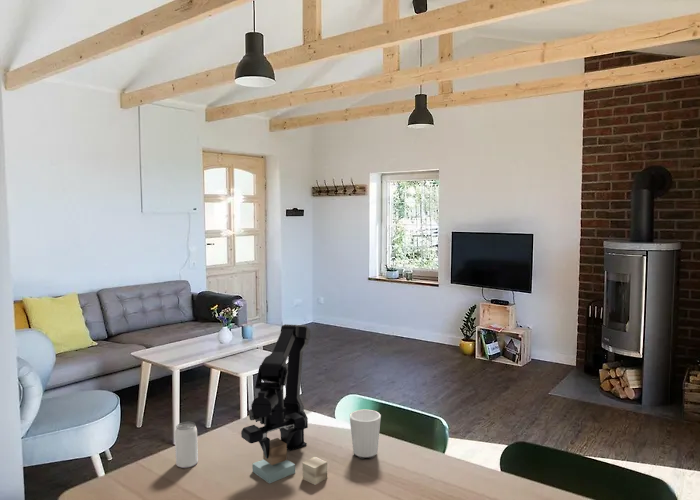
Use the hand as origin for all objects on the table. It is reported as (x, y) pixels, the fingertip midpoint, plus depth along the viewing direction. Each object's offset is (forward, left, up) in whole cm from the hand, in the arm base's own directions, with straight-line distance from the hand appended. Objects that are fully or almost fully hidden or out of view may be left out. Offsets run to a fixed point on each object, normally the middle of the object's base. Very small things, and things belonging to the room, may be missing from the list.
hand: (274, 455), depth 158 cm
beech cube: (-7, +10, -5) cm, 14 cm away
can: (+18, -22, -6) cm, 29 cm away
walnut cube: (0, 0, -1) cm, 1 cm away
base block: (0, 0, -6) cm, 6 cm away
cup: (-28, +8, -6) cm, 30 cm away
